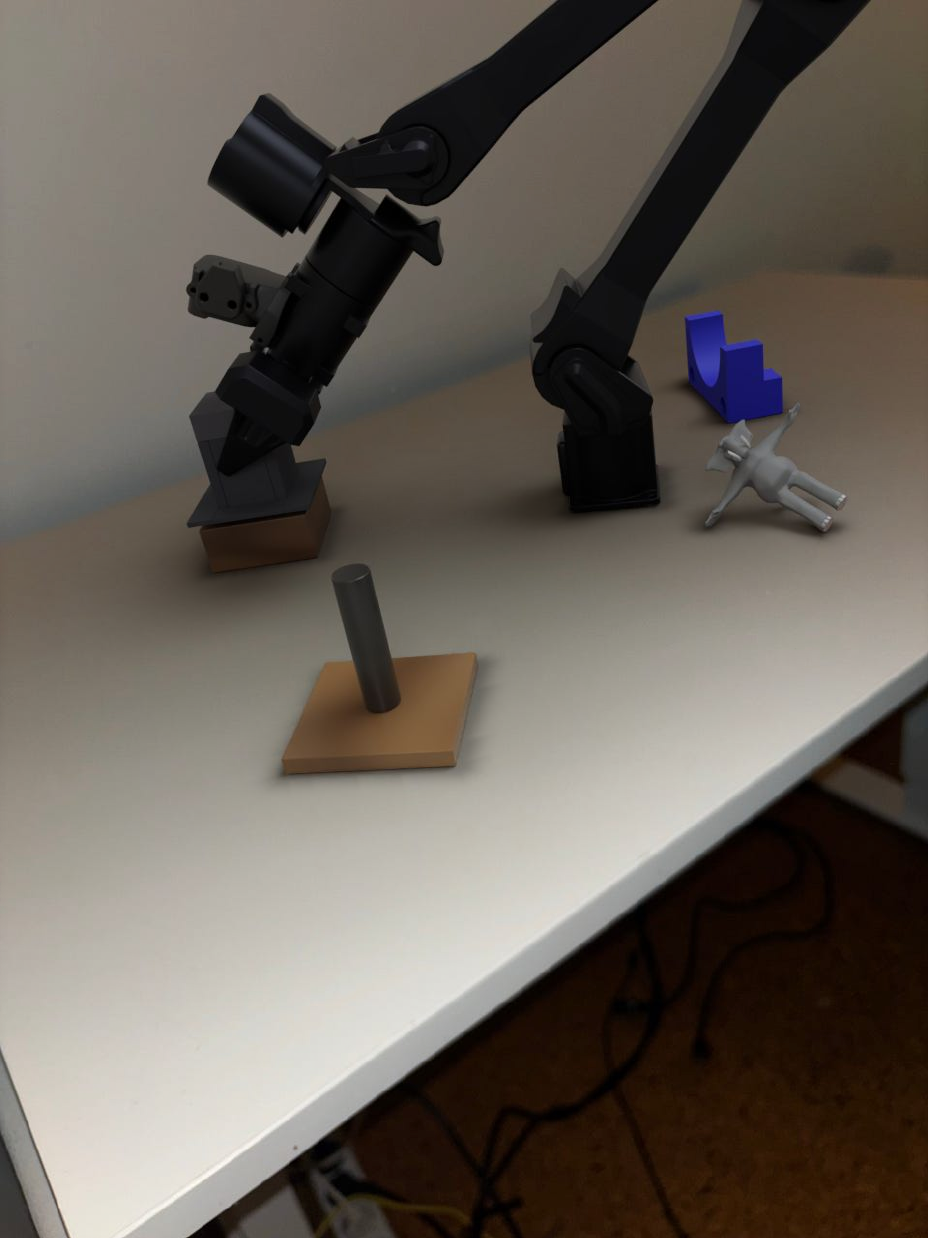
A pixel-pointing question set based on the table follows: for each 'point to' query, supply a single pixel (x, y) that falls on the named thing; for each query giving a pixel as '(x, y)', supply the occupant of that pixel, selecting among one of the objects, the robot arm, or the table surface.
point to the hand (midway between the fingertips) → (230, 458)
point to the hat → (248, 474)
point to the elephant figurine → (769, 474)
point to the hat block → (268, 537)
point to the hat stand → (380, 697)
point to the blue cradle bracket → (730, 371)
